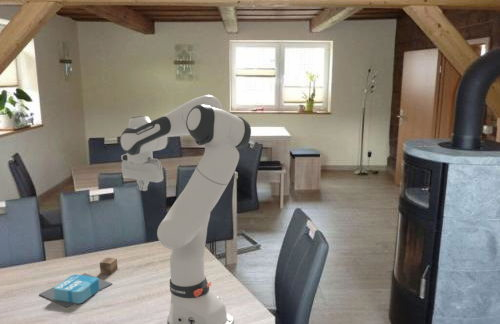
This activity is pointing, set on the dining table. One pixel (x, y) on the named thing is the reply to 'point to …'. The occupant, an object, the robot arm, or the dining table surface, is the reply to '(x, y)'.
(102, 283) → the mat
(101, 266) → the walnut cube
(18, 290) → the dining table surface
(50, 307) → the dining table surface
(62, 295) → the data package
